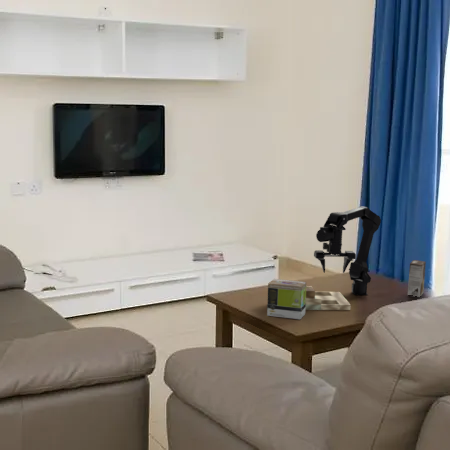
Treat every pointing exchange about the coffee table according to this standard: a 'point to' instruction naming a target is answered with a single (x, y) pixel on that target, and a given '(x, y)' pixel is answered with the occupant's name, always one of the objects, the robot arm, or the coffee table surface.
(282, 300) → the tea box
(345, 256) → the robot arm
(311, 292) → the walnut block
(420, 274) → the coffee box
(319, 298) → the board
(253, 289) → the coffee table surface
